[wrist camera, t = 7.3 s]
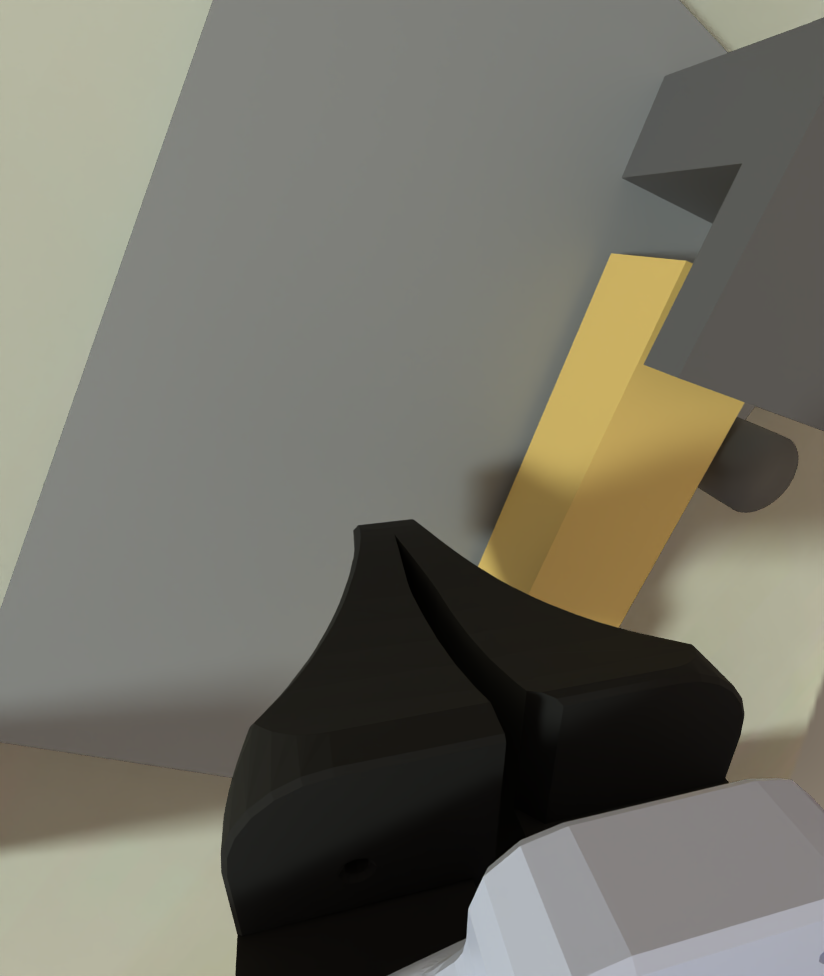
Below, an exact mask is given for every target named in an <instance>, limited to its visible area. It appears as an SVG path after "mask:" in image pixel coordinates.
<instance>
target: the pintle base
mask: <svg viewBox="0 0 824 976" xmlns="http://www.w3.org/2000/svg"><path fill="white" fill-rule="evenodd" d="M611 253H613V254H623V255H633V256H644V257H654V258H664V259H674V260H684V261H688V262H691V263H693V265H692V267H691V269H690V271H689V273H688V275H687V277H686V279H685V281H684V283H683V285H682V287H681V289H680V291H679V293H678V295H677V297H676V299H675V301H674V303H673V305H672V307H671V309H670V311H669V314H668V316H667V318H666V320H665V322H664V324H663V326H662V328H661V330H660V332H659V334H658V336H657V338H656V340H655V342H654V344H653V346H652V348H651V350H650V352H649V354H648V356H647V358H646V360H645V362H644V364H643V365H646V366H648V367H651V368H653V369H656V370H659V371H661V372H664V373H666V374H669V375H671V376H674V377H677V378H679V379H682V380H685V381H688V382H690V383H693V384H696V385H699V386H701V387H704V388H707V389H710V390H712V391H715V392H718V393H721V394H723V395H726V396H729V397H731V398H734V399H737V400H740V401H742V402H745V403H744V405H743V406H742V408H741V410H740V412H739V414H738V415H737V417H736V419H735V421H734V423H733V424H732V426H731V428H730V430H729V431H728V433H727V435H726V437H725V439H724V440H723V442H722V444H721V446H720V448H719V449H718V451H717V453H716V455H715V456H714V458H713V460H712V462H711V464H710V465H709V467H708V469H707V471H706V473H705V474H704V476H703V478H702V480H701V481H700V483H699V485H698V488H700V489H701V490H703V491H704V492H706V493H708V494H709V495H711V496H712V497H714V498H716V499H717V500H719V501H720V502H722V503H724V504H725V505H727V506H728V507H730V508H732V509H733V510H735V511H738V512H744V513H747V512H754V511H757V510H760V509H762V508H764V507H766V506H768V505H770V504H771V503H772V502H774V501H775V500H776V499H777V498H779V497H780V496H781V495H782V494H783V492H784V491H785V490H786V489H787V487H788V486H789V485H790V483H791V481H792V479H793V477H794V475H795V473H796V470H797V466H798V452H797V448H796V446H795V444H794V443H793V442H792V441H791V440H790V439H788V438H786V437H784V436H781V435H779V434H777V433H774V432H772V431H770V430H767V429H765V428H763V427H760V426H758V425H755V424H753V423H751V422H748V421H746V420H745V419H746V418H747V417H748V415H749V414H750V413H751V411H752V410H753V409H754V407H755V406H756V407H759V408H762V409H764V410H767V411H770V412H773V413H775V414H778V415H781V416H784V417H786V418H789V419H792V420H795V421H797V422H800V423H803V424H806V425H808V426H811V427H814V428H817V429H819V430H822V431H824V18H821V19H818V20H816V21H813V22H811V23H808V24H806V25H803V26H800V27H797V28H795V29H792V30H789V31H786V32H784V33H781V34H778V35H775V36H773V37H770V38H767V39H765V40H762V41H759V42H756V43H754V44H751V45H748V46H745V47H743V48H740V49H737V50H734V51H732V52H729V53H728V52H727V51H726V50H725V49H724V48H723V47H722V46H721V45H720V44H719V42H718V41H717V40H716V39H715V38H714V37H713V36H712V35H711V34H710V33H709V32H708V31H707V30H706V29H705V27H704V26H703V25H702V24H701V23H700V22H699V21H698V20H697V19H696V18H695V17H694V16H693V15H692V13H691V12H690V11H689V10H688V9H687V8H686V7H685V6H684V5H683V4H682V3H681V2H680V1H679V0H213V1H212V4H211V7H210V10H209V13H208V16H207V19H206V22H205V24H204V27H203V30H202V33H201V36H200V39H199V42H198V44H197V47H196V50H195V53H194V56H193V59H192V62H191V65H190V67H189V70H188V73H187V76H186V79H185V82H184V85H183V87H182V90H181V93H180V96H179V99H178V102H177V105H176V107H175V110H174V113H173V116H172V119H171V122H170V125H169V128H168V130H167V133H166V136H165V139H164V142H163V145H162V148H161V150H160V153H159V156H158V159H157V162H156V165H155V168H154V171H153V173H152V176H151V179H150V182H149V185H148V188H147V191H146V193H145V196H144V199H143V202H142V205H141V208H140V211H139V213H138V216H137V219H136V222H135V225H134V228H133V231H132V234H131V236H130V239H129V242H128V245H127V248H126V251H125V254H124V256H123V259H122V262H121V265H120V268H119V271H118V274H117V276H116V279H115V282H114V285H113V288H112V291H111V294H110V297H109V299H108V302H107V305H106V308H105V311H104V314H103V317H102V319H101V322H100V325H99V328H98V331H97V334H96V337H95V340H94V342H93V345H92V348H91V351H90V354H89V357H88V360H87V362H86V365H85V368H84V371H83V374H82V377H81V380H80V382H79V385H78V388H77V391H76V394H75V397H74V400H73V403H72V405H71V408H70V411H69V414H68V417H67V420H66V423H65V425H64V428H63V431H62V434H61V437H60V440H59V443H58V446H57V448H56V451H55V454H54V457H53V460H52V463H51V466H50V468H49V471H48V474H47V477H46V480H45V483H44V486H43V488H42V491H41V494H40V497H39V500H38V503H37V506H36V509H35V511H34V514H33V517H32V520H31V523H30V526H29V529H28V531H27V534H26V537H25V540H24V543H23V546H22V549H21V552H20V554H19V557H18V560H17V563H16V566H15V569H14V572H13V574H12V577H11V580H10V583H9V586H8V589H7V592H6V594H5V597H4V600H3V603H2V606H1V609H0V742H2V743H8V744H15V745H21V746H28V747H34V748H41V749H47V750H54V751H60V752H67V753H74V754H80V755H87V756H93V757H100V758H106V759H113V760H119V761H126V762H132V763H139V764H145V765H152V766H159V767H165V768H172V769H178V770H185V771H191V772H198V773H204V774H211V775H217V776H224V777H231V778H232V777H233V774H234V770H235V767H236V764H237V761H238V758H239V755H240V752H241V749H242V746H243V744H244V741H245V738H246V735H247V733H248V730H249V728H250V726H251V725H252V724H253V723H254V722H255V721H256V720H257V719H258V718H259V717H260V716H261V715H262V714H263V713H264V712H265V711H266V710H267V709H268V708H269V707H270V706H271V705H272V704H273V702H274V701H275V700H276V699H277V698H278V697H279V696H280V695H281V694H282V693H283V692H284V690H285V689H286V688H287V687H288V685H289V684H290V683H291V682H292V680H293V679H294V678H295V676H296V675H297V674H298V672H299V671H300V670H301V669H302V667H303V666H304V665H305V663H306V662H307V661H308V659H309V658H310V656H311V655H312V653H313V652H314V650H315V649H316V647H317V645H318V643H319V642H320V640H321V638H322V637H323V635H324V633H325V632H326V630H327V628H328V626H329V624H330V622H331V620H332V618H333V616H334V614H335V612H336V610H337V607H338V605H339V603H340V600H341V597H342V595H343V592H344V589H345V586H346V583H347V580H348V577H349V574H350V570H351V565H352V561H353V557H354V536H353V530H354V529H355V528H356V527H357V526H358V525H364V524H373V523H382V522H391V521H399V520H408V519H414V520H415V521H416V522H418V523H419V524H420V525H422V526H423V527H424V528H425V529H427V530H428V531H429V532H431V533H432V534H433V535H434V536H436V537H437V538H438V539H440V540H441V541H442V542H443V543H445V544H446V545H448V546H449V547H450V548H452V549H453V550H454V551H456V552H457V553H458V554H460V555H461V556H463V557H464V558H466V559H467V560H469V561H470V562H472V563H473V564H475V565H476V566H478V565H479V563H480V561H481V558H482V556H483V554H484V551H485V549H486V547H487V544H488V542H489V540H490V537H491V535H492V532H493V530H494V528H495V525H496V523H497V521H498V518H499V516H500V514H501V511H502V509H503V507H504V504H505V502H506V500H507V497H508V495H509V492H510V490H511V488H512V485H513V483H514V481H515V478H516V476H517V474H518V471H519V469H520V467H521V464H522V462H523V460H524V457H525V455H526V452H527V450H528V448H529V445H530V443H531V441H532V438H533V436H534V434H535V431H536V429H537V427H538V424H539V422H540V419H541V417H542V415H543V412H544V410H545V408H546V405H547V403H548V401H549V398H550V396H551V394H552V391H553V389H554V387H555V384H556V382H557V379H558V377H559V375H560V372H561V370H562V368H563V365H564V363H565V361H566V358H567V356H568V354H569V351H570V349H571V347H572V344H573V342H574V339H575V337H576V335H577V332H578V330H579V328H580V325H581V323H582V321H583V318H584V316H585V314H586V311H587V309H588V307H589V304H590V302H591V299H592V297H593V295H594V292H595V290H596V288H597V285H598V283H599V281H600V278H601V276H602V274H603V271H604V269H605V266H606V264H607V262H608V259H609V257H610V255H611Z"/></svg>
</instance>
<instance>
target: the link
mask: <svg viewBox="0 0 824 976" xmlns="http://www.w3.org/2000/svg"><path fill="white" fill-rule="evenodd" d="M692 265H693V263H691V262H688V261H684V260H674V259H664V258H654V257H644V256H633V255H623V254H613V253H611V255H610V257H609V259H608V262H607V264H606V266H605V269H604V271H603V274H602V276H601V278H600V281H599V283H598V285H597V288H596V290H595V292H594V295H593V297H592V299H591V302H590V304H589V307H588V309H587V311H586V314H585V316H584V318H583V321H582V323H581V325H580V328H579V330H578V332H577V335H576V337H575V339H574V342H573V344H572V347H571V349H570V351H569V354H568V356H567V358H566V361H565V363H564V365H563V368H562V370H561V372H560V375H559V377H558V379H557V382H556V384H555V387H554V389H553V391H552V394H551V396H550V398H549V401H548V403H547V405H546V408H545V410H544V412H543V415H542V417H541V419H540V422H539V424H538V427H537V429H536V431H535V434H534V436H533V438H532V441H531V443H530V445H529V448H528V450H527V452H526V455H525V457H524V460H523V462H522V464H521V467H520V469H519V471H518V474H517V476H516V478H515V481H514V483H513V485H512V488H511V490H510V492H509V495H508V497H507V500H506V502H505V504H504V507H503V509H502V511H501V514H500V516H499V518H498V521H497V523H496V525H495V528H494V530H493V532H492V535H491V537H490V540H489V542H488V544H487V547H486V549H485V551H484V554H483V556H482V558H481V561H480V563H479V565H478V567H479V568H481V569H483V570H484V571H486V572H487V573H489V574H491V575H492V576H494V577H496V578H497V579H499V580H501V581H503V582H504V583H506V584H508V585H510V586H512V587H514V588H516V589H518V590H520V591H522V592H524V593H526V594H528V595H530V596H532V597H534V598H536V599H539V600H541V601H543V602H546V603H548V604H550V605H553V606H556V607H558V608H561V609H563V610H566V611H568V612H571V613H574V614H576V615H579V616H582V617H585V618H588V619H591V620H594V621H597V622H600V623H604V624H607V625H611V626H614V627H618V628H619V626H620V624H621V623H622V621H623V619H624V617H625V616H626V614H627V612H628V610H629V608H630V607H631V605H632V603H633V601H634V599H635V598H636V596H637V594H638V592H639V591H640V589H641V587H642V585H643V583H644V582H645V580H646V578H647V576H648V574H649V573H650V571H651V569H652V567H653V565H654V564H655V562H656V560H657V558H658V557H659V555H660V553H661V551H662V549H663V548H664V546H665V544H666V542H667V540H668V539H669V537H670V535H671V533H672V532H673V530H674V528H675V526H676V524H677V523H678V521H679V519H680V517H681V515H682V514H683V512H684V510H685V508H686V507H687V505H688V503H689V501H690V499H691V498H692V496H693V494H694V492H695V490H696V489H697V487H698V485H699V483H700V481H701V480H702V478H703V476H704V474H705V473H706V471H707V469H708V467H709V465H710V464H711V462H712V460H713V458H714V456H715V455H716V453H717V451H718V449H719V448H720V446H721V444H722V442H723V440H724V439H725V437H726V435H727V433H728V431H729V430H730V428H731V426H732V424H733V423H734V421H735V419H736V417H737V415H738V414H739V412H740V410H741V408H742V406H743V405H744V403H745V402H742V401H740V400H737V399H734V398H731V397H729V396H726V395H723V394H721V393H718V392H715V391H712V390H710V389H707V388H704V387H701V386H699V385H696V384H693V383H690V382H688V381H685V380H682V379H679V378H677V377H674V376H671V375H669V374H666V373H664V372H661V371H659V370H656V369H653V368H651V367H648V366H646V365H643V364H644V362H645V360H646V358H647V356H648V354H649V352H650V350H651V348H652V346H653V344H654V342H655V340H656V338H657V336H658V334H659V332H660V330H661V328H662V326H663V324H664V322H665V320H666V318H667V316H668V314H669V311H670V309H671V307H672V305H673V303H674V301H675V299H676V297H677V295H678V293H679V291H680V289H681V287H682V285H683V283H684V281H685V279H686V277H687V275H688V273H689V271H690V269H691V267H692Z"/></svg>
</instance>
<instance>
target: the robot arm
mask: <svg viewBox="0 0 824 976" xmlns="http://www.w3.org/2000/svg"><path fill="white" fill-rule="evenodd" d="M353 536H354V557H353V561H352V565H351V570H350V574H349V577H348V580H347V583H346V586H345V589H344V592H343V595H342V597H341V600H340V603H339V605H338V607H337V610H336V612H335V614H334V616H333V618H332V620H331V622H330V624H329V626H328V628H327V630H326V632H325V633H324V635H323V637H322V638H321V640H320V642H319V643H318V645H317V647H316V649H315V650H314V652H313V653H312V655H311V656H310V658H309V659H308V661H307V662H306V663H305V665H304V666H303V667H302V669H301V670H300V671H299V672H298V674H297V675H296V676H295V678H294V679H293V680H292V682H291V683H290V684H289V685H288V687H287V688H286V689H285V690H284V692H283V693H282V694H281V695H280V696H279V697H278V698H277V699H276V700H275V701H274V702H273V704H272V705H271V706H270V707H269V708H268V709H267V710H266V711H265V712H264V713H263V714H262V715H261V716H260V717H259V718H258V719H257V720H256V721H255V722H254V723H253V724H252V725H251V726H250V728H249V730H248V733H247V735H246V738H245V741H244V744H243V746H242V749H241V752H240V755H239V758H238V761H237V764H236V767H235V770H234V774H233V777H232V781H231V785H230V789H229V793H228V798H227V803H226V807H225V813H224V821H223V833H222V845H221V873H222V877H223V880H224V884H225V888H226V892H227V896H228V900H229V904H230V907H231V911H232V915H233V919H234V923H235V927H236V931H237V934H238V938H237V957H236V976H824V810H823V808H822V807H821V806H820V805H819V804H818V803H817V802H816V801H815V800H814V799H813V798H812V797H811V796H810V795H809V794H808V793H807V792H806V791H805V790H803V789H802V788H801V787H800V786H799V785H798V784H796V783H795V782H794V781H793V780H790V779H783V778H760V779H744V780H740V781H736V782H732V783H729V782H728V781H727V780H726V778H725V777H726V774H727V771H728V768H729V766H730V763H731V760H732V757H733V754H734V752H735V749H736V746H737V743H738V740H739V738H740V735H741V730H742V725H743V720H744V708H743V702H742V698H741V696H740V695H739V693H738V692H737V690H736V689H735V687H734V686H733V685H732V684H731V683H730V682H729V681H728V680H727V679H726V678H725V677H724V676H723V675H722V674H721V673H720V672H719V671H718V670H717V669H716V668H715V667H714V666H713V665H712V664H711V663H710V662H709V661H708V660H707V659H706V658H705V657H704V656H703V655H702V654H701V653H700V652H699V651H698V650H697V649H696V648H695V647H694V646H693V645H692V644H687V643H682V642H678V641H673V640H668V639H664V638H659V637H654V636H650V635H645V634H640V633H636V632H632V631H628V630H625V629H621V628H618V627H614V626H611V625H607V624H604V623H600V622H597V621H594V620H591V619H588V618H585V617H582V616H579V615H576V614H574V613H571V612H568V611H566V610H563V609H561V608H558V607H556V606H553V605H550V604H548V603H546V602H543V601H541V600H539V599H536V598H534V597H532V596H530V595H528V594H526V593H524V592H522V591H520V590H518V589H516V588H514V587H512V586H510V585H508V584H506V583H504V582H503V581H501V580H499V579H497V578H496V577H494V576H492V575H491V574H489V573H487V572H486V571H484V570H483V569H481V568H479V567H478V566H476V565H475V564H473V563H472V562H470V561H469V560H467V559H466V558H464V557H463V556H461V555H460V554H458V553H457V552H456V551H454V550H453V549H452V548H450V547H449V546H448V545H446V544H445V543H443V542H442V541H441V540H440V539H438V538H437V537H436V536H434V535H433V534H432V533H431V532H429V531H428V530H427V529H425V528H424V527H423V526H422V525H420V524H419V523H418V522H416V521H415V520H414V519H408V520H399V521H391V522H382V523H373V524H364V525H358V526H357V527H356V528H355V529H354V530H353Z"/></svg>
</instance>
